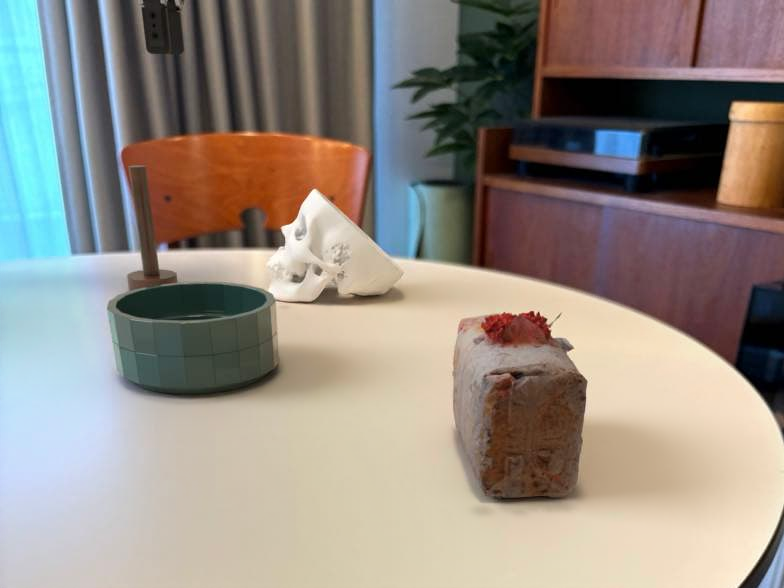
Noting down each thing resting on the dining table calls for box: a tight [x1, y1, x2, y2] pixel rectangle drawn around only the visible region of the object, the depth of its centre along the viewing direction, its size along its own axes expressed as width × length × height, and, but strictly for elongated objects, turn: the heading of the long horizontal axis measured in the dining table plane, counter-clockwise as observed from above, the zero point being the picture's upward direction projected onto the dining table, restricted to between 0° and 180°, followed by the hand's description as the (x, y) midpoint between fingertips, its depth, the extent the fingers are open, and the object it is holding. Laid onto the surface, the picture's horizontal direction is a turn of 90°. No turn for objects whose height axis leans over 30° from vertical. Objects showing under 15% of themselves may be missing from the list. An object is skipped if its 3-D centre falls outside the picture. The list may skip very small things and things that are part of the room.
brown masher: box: [126, 164, 179, 291], centre depth 93 cm, size 6×6×13 cm
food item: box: [452, 310, 589, 500], centre depth 54 cm, size 14×8×10 cm, turn 5°
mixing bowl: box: [106, 281, 280, 395], centre depth 70 cm, size 13×13×6 cm
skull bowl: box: [266, 188, 405, 303], centre depth 93 cm, size 10×14×12 cm
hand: (166, 54), depth 82 cm, fingers open, 8 cm apart
